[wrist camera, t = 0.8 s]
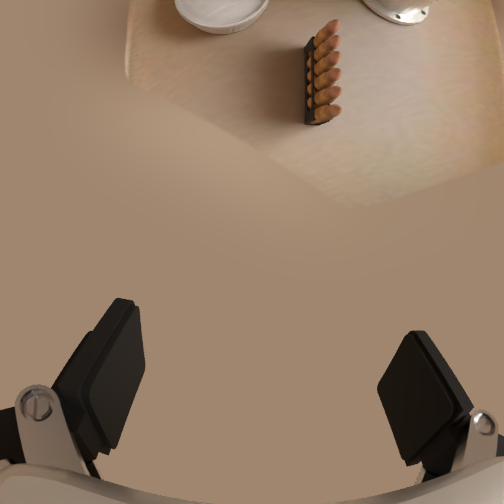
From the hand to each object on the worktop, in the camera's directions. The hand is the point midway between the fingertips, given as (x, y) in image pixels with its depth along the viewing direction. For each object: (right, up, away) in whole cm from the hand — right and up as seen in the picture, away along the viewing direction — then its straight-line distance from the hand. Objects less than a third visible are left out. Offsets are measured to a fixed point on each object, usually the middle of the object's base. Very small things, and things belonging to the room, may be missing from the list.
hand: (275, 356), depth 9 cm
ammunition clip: (+7, +24, +22) cm, 33 cm away
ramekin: (-4, +35, +17) cm, 39 cm away
